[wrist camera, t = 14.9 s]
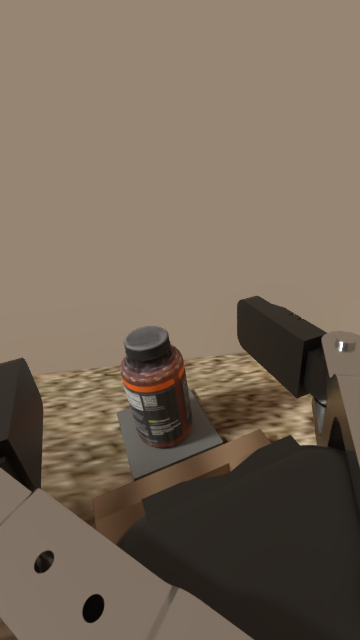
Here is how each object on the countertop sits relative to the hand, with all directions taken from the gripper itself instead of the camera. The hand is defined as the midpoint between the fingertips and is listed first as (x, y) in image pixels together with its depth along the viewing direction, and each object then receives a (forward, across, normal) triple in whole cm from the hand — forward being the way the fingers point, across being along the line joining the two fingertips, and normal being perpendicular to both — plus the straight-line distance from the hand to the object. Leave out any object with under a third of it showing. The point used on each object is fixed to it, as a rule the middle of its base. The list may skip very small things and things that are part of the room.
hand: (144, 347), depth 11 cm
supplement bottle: (+13, -3, +19) cm, 23 cm away
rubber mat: (+13, -3, +19) cm, 23 cm away
